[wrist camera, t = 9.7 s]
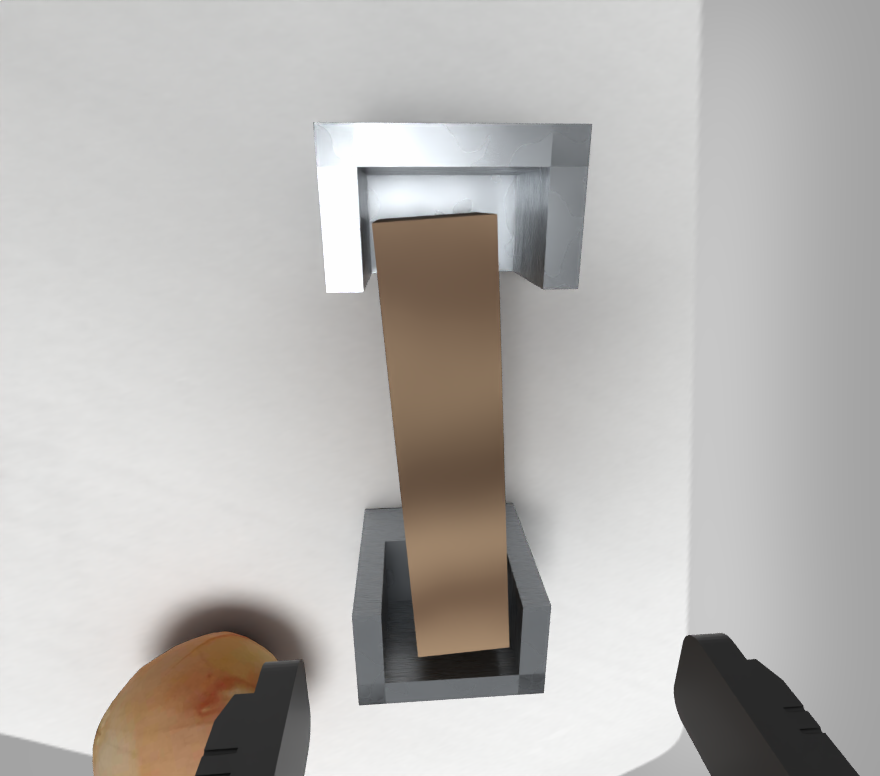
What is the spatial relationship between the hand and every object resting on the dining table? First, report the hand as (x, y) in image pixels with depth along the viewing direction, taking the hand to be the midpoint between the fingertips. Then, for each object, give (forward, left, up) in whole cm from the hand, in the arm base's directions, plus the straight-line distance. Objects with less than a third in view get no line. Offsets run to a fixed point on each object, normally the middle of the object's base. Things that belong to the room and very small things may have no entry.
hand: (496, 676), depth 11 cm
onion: (+17, -13, -17) cm, 28 cm away
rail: (0, 0, -14) cm, 14 cm away
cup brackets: (0, 0, -17) cm, 17 cm away
